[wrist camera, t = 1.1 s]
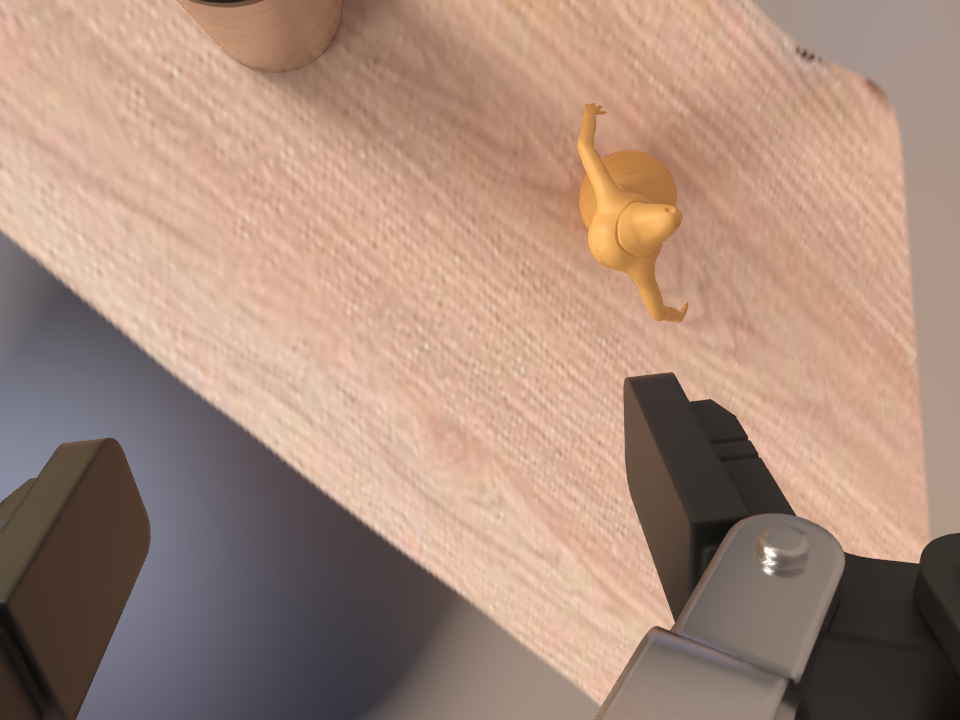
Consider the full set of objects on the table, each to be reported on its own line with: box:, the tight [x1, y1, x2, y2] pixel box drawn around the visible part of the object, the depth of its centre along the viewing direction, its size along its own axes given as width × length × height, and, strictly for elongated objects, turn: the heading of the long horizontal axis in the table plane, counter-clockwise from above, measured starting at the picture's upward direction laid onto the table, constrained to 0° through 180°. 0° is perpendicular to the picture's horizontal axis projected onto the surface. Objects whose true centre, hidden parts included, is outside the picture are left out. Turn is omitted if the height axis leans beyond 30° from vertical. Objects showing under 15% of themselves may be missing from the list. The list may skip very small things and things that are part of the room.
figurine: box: [578, 103, 688, 322], centre depth 30 cm, size 8×6×12 cm
